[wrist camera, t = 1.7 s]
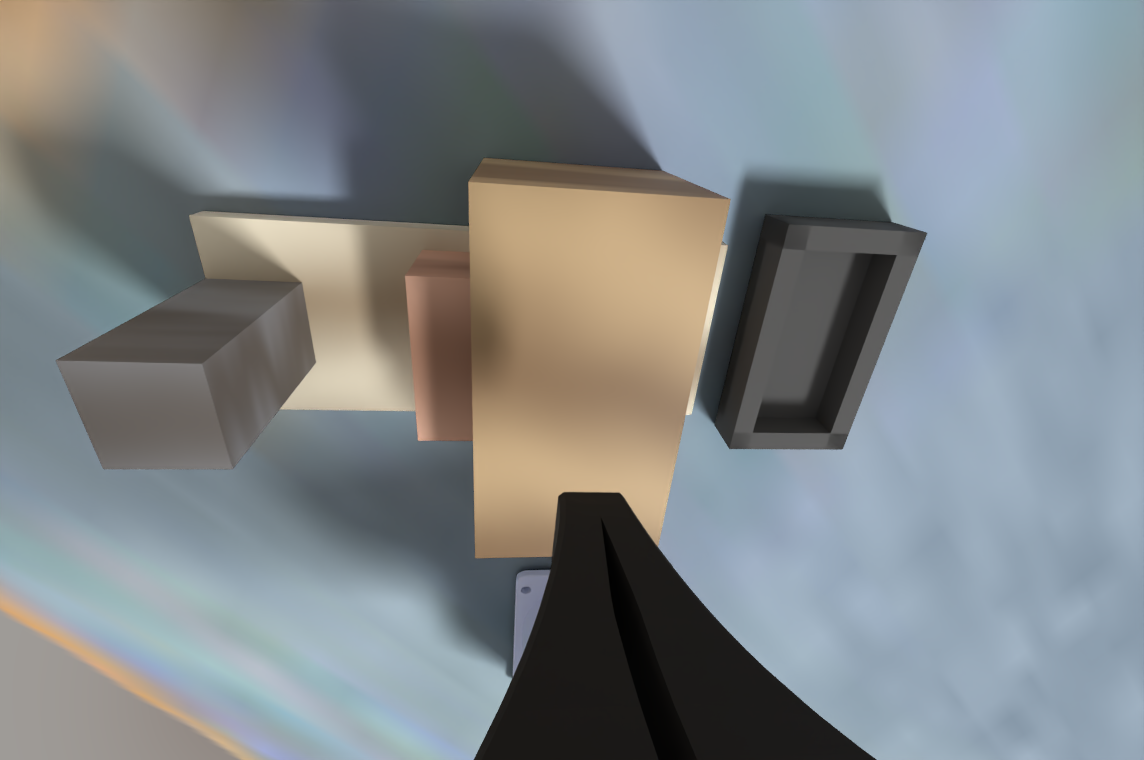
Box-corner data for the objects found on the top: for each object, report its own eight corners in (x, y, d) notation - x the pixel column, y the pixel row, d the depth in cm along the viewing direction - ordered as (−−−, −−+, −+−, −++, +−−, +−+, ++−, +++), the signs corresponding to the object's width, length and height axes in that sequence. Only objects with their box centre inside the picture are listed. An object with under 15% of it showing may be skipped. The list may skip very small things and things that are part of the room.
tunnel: (622, 446, 23) (656, 554, 17) (485, 446, 22) (475, 558, 16) (663, 170, 17) (730, 199, 12) (483, 157, 17) (468, 181, 11)
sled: (685, 404, 22) (752, 521, 16) (249, 398, 20) (129, 529, 14) (719, 240, 19) (820, 305, 12) (202, 210, 16) (16, 271, 10)
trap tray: (820, 426, 23) (842, 449, 22) (714, 424, 22) (729, 448, 21) (892, 222, 19) (927, 232, 17) (765, 214, 18) (789, 224, 17)
